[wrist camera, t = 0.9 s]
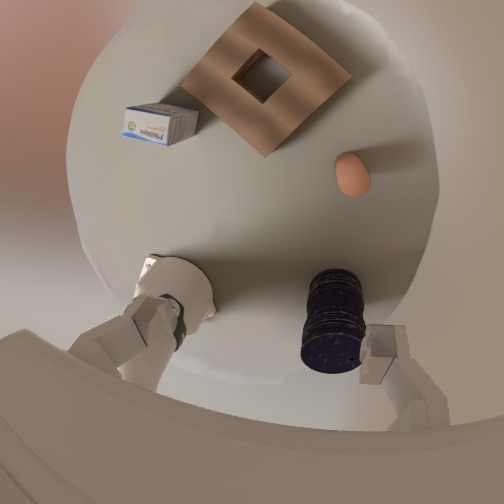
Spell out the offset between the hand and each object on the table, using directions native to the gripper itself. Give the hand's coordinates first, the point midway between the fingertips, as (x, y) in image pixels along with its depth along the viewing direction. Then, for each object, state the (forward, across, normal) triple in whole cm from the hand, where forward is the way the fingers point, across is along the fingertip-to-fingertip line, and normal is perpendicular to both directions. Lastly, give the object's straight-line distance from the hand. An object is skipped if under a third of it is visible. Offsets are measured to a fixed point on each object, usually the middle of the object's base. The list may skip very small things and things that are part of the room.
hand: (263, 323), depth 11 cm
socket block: (+32, +6, -11) cm, 34 cm away
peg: (+32, -5, +2) cm, 32 cm away
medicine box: (+32, +21, -6) cm, 39 cm away
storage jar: (+32, -5, +24) cm, 40 cm away
